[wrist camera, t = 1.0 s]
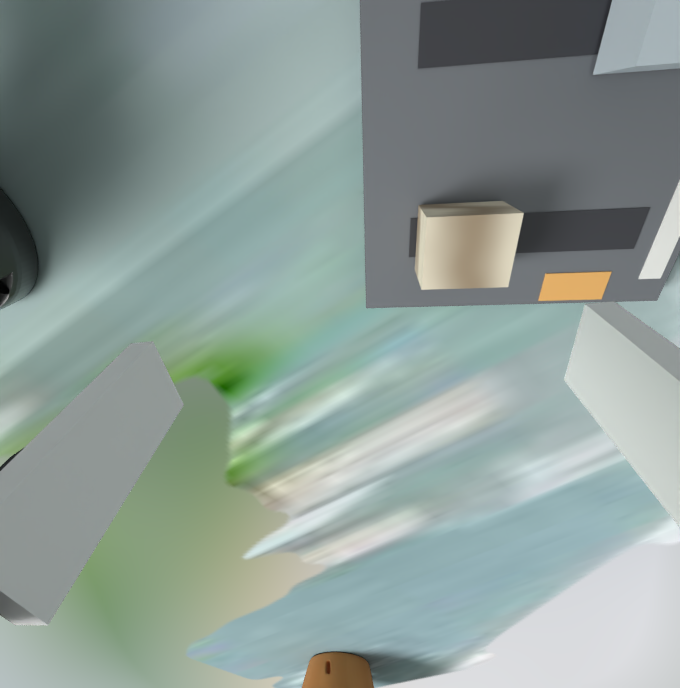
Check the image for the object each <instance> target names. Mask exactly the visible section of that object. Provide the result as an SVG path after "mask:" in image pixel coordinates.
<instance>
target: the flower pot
mask: <svg viewBox="0 0 680 688" xmlns="http://www.w3.org/2000/svg"><path fill="white" fill-rule="evenodd" d="M302 688H374V686H373V680H372V675H371V671H370V666H369V663H368V662H367V661H366V660H365V659H364V658H362V657H360V656H357V655H354V654H349V653H342V652H327V653H321V654H318V655H316V656H314V657H312V658H311V660H310V662H309V665H308V668H307V672H306V675H305V678H304V682H303V686H302Z"/></svg>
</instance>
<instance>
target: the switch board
mask: <svg viewBox="0 0 680 688" xmlns="http://www.w3.org/2000/svg"><path fill="white" fill-rule="evenodd" d="M611 3H612V0H360V28H361V77H362V126H363V175H364V224H365V273H366V308H389V307H428V306H467V305H505V304H544V303H583V302H611V301H614V302H622V301H657V300H658V297H659V295H660V293H661V291H662V289H663V287H664V285H665V282H666V280H667V278H668V276H669V274H670V272H671V270H672V267H673V265H674V263H675V261H676V259H677V257H678V255H679V252H680V68H678V69H665V70H652V71H639V72H626V73H612V74H599V75H593V72H594V68H595V64H596V60H597V57H598V53H599V49H600V45H601V41H602V37H603V34H604V30H605V26H606V22H607V18H608V14H609V11H610V7H611ZM488 201H504V202H506V203H507V204H509V205H511V206H513V207H514V208H516V209H518V210H520V211H521V212H523V213H524V215H523V220H522V224H521V229H520V234H519V238H518V243H517V248H516V253H515V257H514V262H513V267H512V271H511V276H510V281H509V285H508V287H498V288H464V289H430V290H421V287H420V284H419V281H418V278H417V275H416V272H415V257H416V240H417V222H418V205H427V204H447V203H467V202H488Z"/></svg>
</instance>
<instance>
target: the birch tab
mask: <svg viewBox="0 0 680 688" xmlns="http://www.w3.org/2000/svg"><path fill="white" fill-rule="evenodd" d="M523 215H524V213H523V212H521V211H520V210H518V209H516V208H514V207H513V206H511V205H509V204H507V203H506V202H504V201H488V202H467V203H447V204H427V205H418V222H417V240H416V257H415V272H416V275H417V278H418V281H419V284H420V287H421V290H430V289H464V288H498V287H508V285H509V281H510V276H511V271H512V267H513V262H514V257H515V253H516V248H517V243H518V238H519V234H520V229H521V224H522V220H523Z"/></svg>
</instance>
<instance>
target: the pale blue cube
mask: <svg viewBox="0 0 680 688" xmlns="http://www.w3.org/2000/svg"><path fill="white" fill-rule="evenodd" d="M678 68H680V0H612V3H611V7H610V11H609V14H608V18H607V22H606V26H605V30H604V34H603V37H602V41H601V45H600V49H599V53H598V57H597V60H596V64H595V68H594V72H593V75H599V74H612V73H626V72H639V71H652V70H665V69H678Z"/></svg>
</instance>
